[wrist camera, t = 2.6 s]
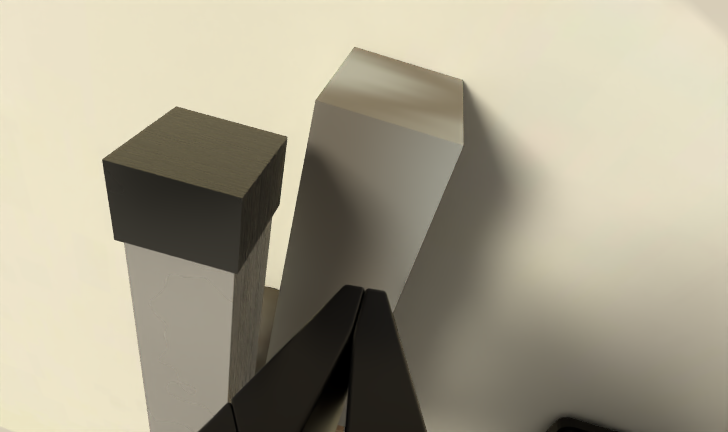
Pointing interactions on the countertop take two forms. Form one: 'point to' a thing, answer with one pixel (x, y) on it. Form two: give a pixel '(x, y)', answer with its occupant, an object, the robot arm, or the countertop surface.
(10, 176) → the countertop surface
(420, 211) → the wooden block clamp
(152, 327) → the bar
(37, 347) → the countertop surface
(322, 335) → the robot arm
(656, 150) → the countertop surface
